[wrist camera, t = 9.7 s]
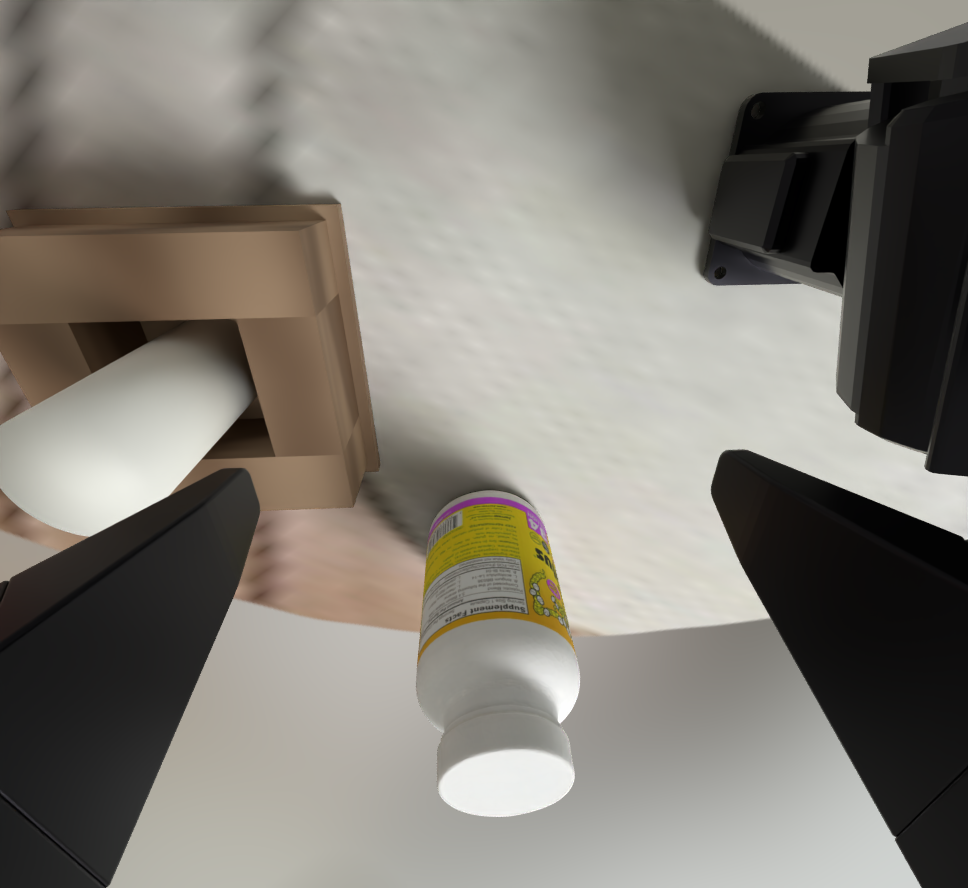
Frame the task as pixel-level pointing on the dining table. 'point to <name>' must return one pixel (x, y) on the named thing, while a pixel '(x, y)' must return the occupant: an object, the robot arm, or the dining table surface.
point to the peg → (127, 429)
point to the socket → (206, 295)
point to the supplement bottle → (496, 658)
